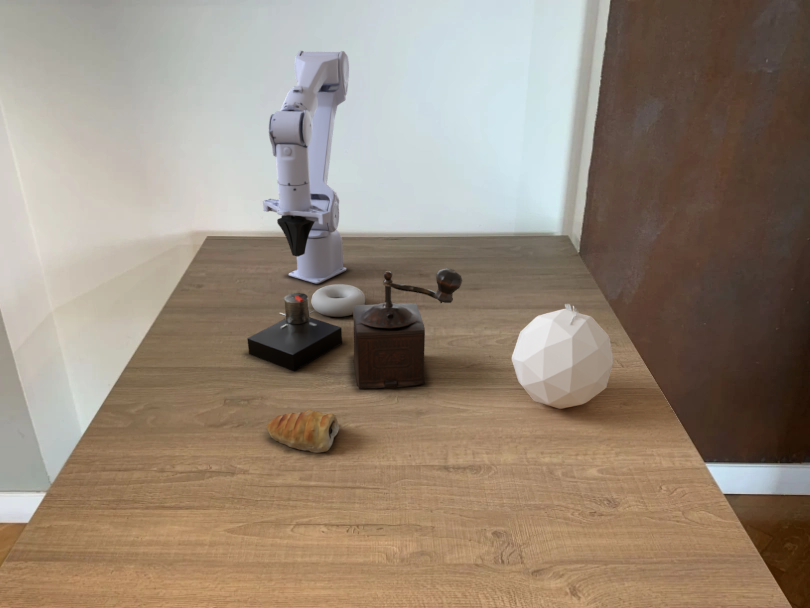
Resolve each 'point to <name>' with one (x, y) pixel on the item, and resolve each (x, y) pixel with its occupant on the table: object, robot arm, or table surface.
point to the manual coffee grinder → (395, 335)
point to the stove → (294, 342)
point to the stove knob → (296, 308)
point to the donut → (337, 300)
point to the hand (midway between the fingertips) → (298, 254)
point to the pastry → (305, 430)
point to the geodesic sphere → (563, 358)
